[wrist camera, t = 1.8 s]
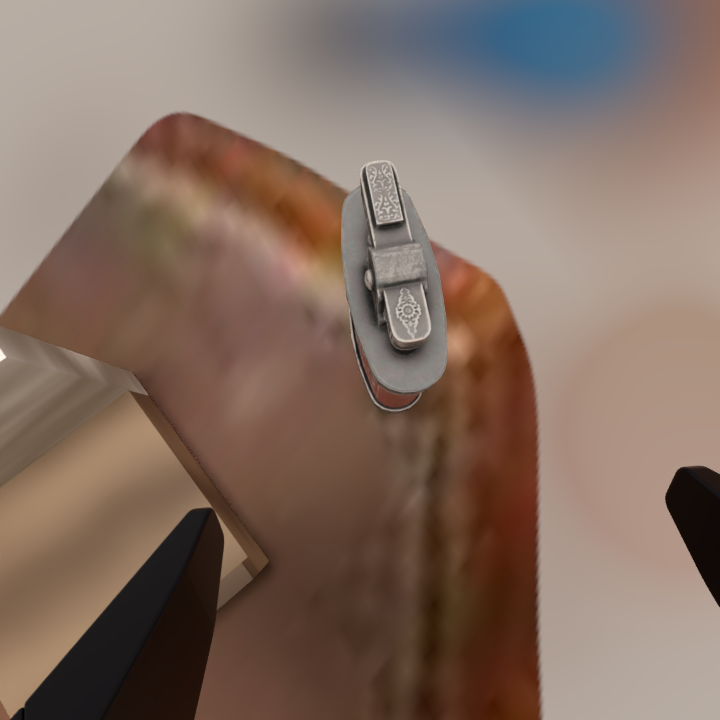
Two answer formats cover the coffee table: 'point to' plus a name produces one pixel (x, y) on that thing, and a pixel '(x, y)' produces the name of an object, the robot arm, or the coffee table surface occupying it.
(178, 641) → the robot arm
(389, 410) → the lighter
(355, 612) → the coffee table surface
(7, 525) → the board
